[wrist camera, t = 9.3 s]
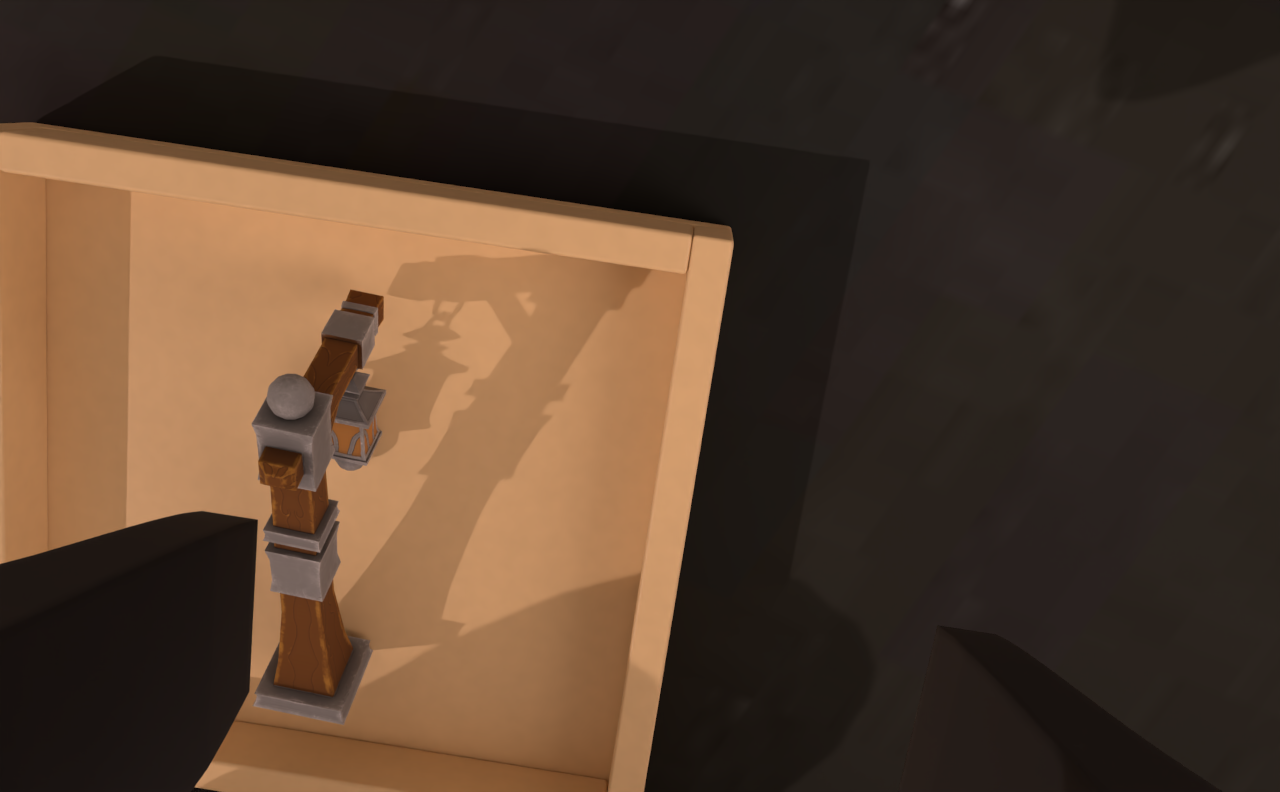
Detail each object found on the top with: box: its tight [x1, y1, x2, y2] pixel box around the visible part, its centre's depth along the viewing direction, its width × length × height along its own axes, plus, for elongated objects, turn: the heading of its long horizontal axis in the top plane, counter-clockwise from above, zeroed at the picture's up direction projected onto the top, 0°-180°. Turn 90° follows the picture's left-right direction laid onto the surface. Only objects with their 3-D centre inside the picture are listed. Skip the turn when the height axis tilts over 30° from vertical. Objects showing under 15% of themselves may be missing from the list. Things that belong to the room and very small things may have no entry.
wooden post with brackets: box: [252, 289, 386, 725], centre depth 20 cm, size 2×8×4 cm, turn 169°
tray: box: [0, 122, 734, 792], centre depth 21 cm, size 13×12×2 cm
